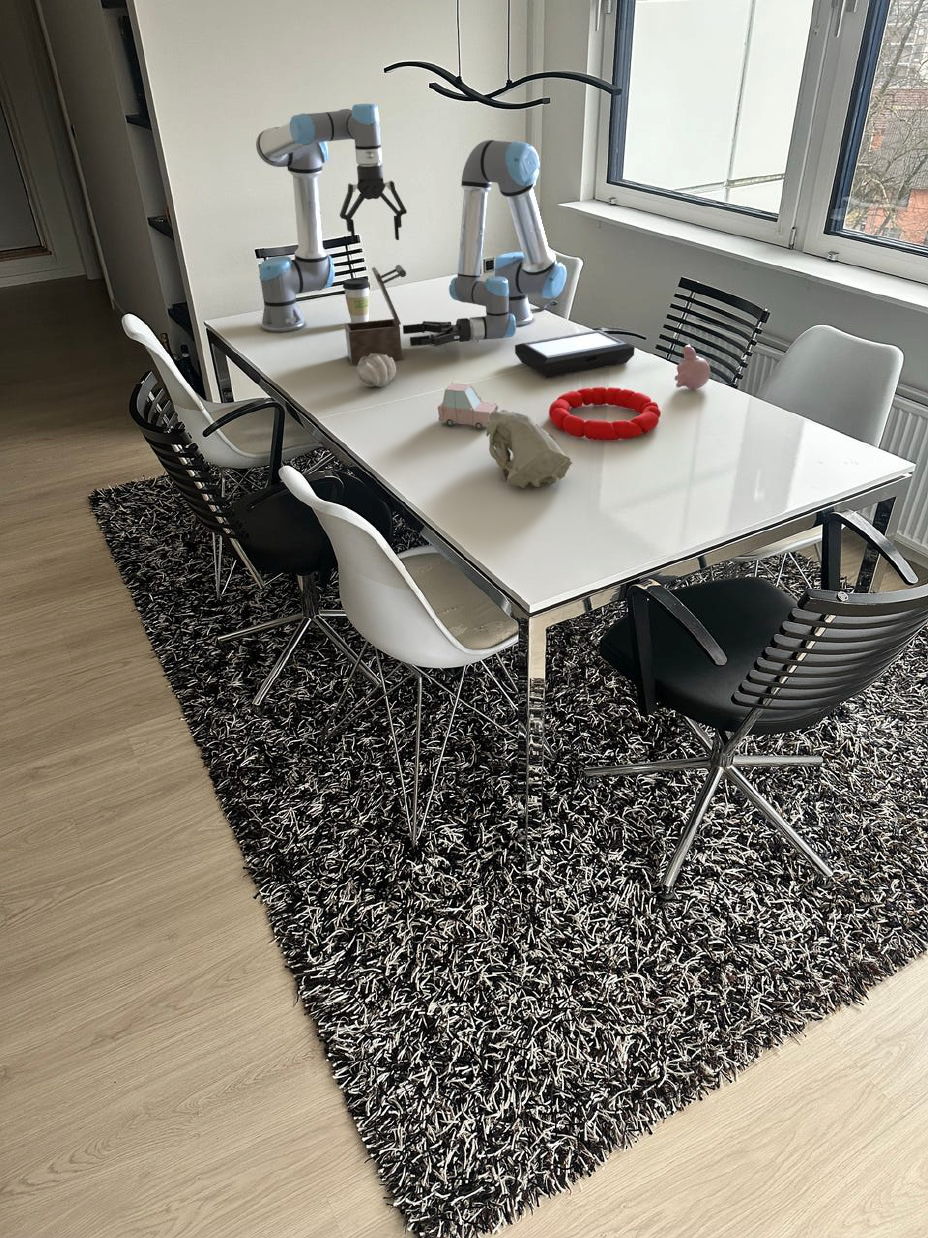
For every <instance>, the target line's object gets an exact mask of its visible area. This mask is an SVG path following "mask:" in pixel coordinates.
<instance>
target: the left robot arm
mask: <svg viewBox="0 0 928 1238" xmlns="http://www.w3.org/2000/svg"><path fill="white" fill-rule="evenodd" d="M346 140H354V149H355V160H356V161H355V162H356V164H357V166H356V172H357V184H355V183H347V192H346V194H345V198H344V201H343V204H342V206H341V210H340V213H339V217H340V219H342V220H345V223H346V230H347V232H348V233H350V237H351V243H352V244H354V245H355V244H356V236H355V235H356V233H355V223H354V219H352V218H353V217H354V215H355V214H356V212H357V210H358V209H359V207H360V206H361V204H362V203H363V202H364V200H365V199H366V200H369V201H370V200H378V199H380V198H381V199H382V200H383V201H384V203H385V204H386V205H387V206H388V207H389V208H390V210H391V211H393V213H394V214H395V215H393V224H394V225H393V226H394V239H395V240H396V241H400V231H399V230H400V228H402V225H403V224H402V216H403V215H406V214H407V211H408V210H407V209H406V207H405V205H404V203H403V200H401V197H400V196H399V194H398V192H397V190H396V186H395V182H394V181H393V180H389V181H384V172H383V170H384V169H383V165H382V164H381V163H382V162H383V158H382V144H381V143H382V142H381V128H380V115H379V108H378V106H377V104H375V103H355V104H353V105H352V107H351V109H350V108H343V109H339V110H335V111H324V112H314V113H299V114H294V115H292V116H291V117H290V121H289V122H287V123H286V124H283V125H281V126H274V127H269V128H267V129H264V130H263V131H261V132H260V133H259V134H258V136H257V138H256V143H255V148H256V152H257V155H258V156H259V157H260V159H261V160H262V161H263V162H264V163H266V164H267V165H269V166H272V167H277V168H286V167H287V171H288V172H289V174H290V175H291V176H292V185H293V196H294V197H293V198H294V209H295V221H296V222H295V224H296V235H297V246H298V247H297V248H296V250H294V259H292V258H291V257H290V256H288V255H280V256H273V257H270V258H266V259H265V260H263V261H262V262H261V263H260V265H259V266H258V270H259V271H258V272H259V281H260V287H261V292H262V299H263V313H262V319H261V326H262V330H264V331H265V332H271V333H286V332H293V331H296V330H297V331H298V330H300V329H302V328H304V326H305V319H304V317H303V314H302V312H301V310H300V307H299V306H298V305H299V304H298V303H297V295H300V294H305V293H306V294H307V293H312V292H320V291H322V290H326V289H329V288H331V286H332V285H333V283H334V280H335V274H336V273H335V265H334V260H333V258H332V256H331V255H329V254H328V251H327V250H326V249H325V248H324V245H323V232H322V229H323V228H322V214H321V199H320V184H319V176H320V174H321V173H322V172H323V164H325V163H326V162H327V161H328V158H329V148H328V144H327V142H336V141H346ZM386 188H387V189H388V190H389V191H390V192H391V195H392V196H393V198H394V200H395V202H396V204H397V206H398V207H399V209H400V210H399V209H398V208H397V207H396V206H395V205H394V203H392V201H391V200H390V199H389V198H388V197H387V196H386V194H385V193H384V190H385V189H386ZM356 190H358V192H359V195H358V196H357V198H356V200H355V201H354V203H353V204H352V206H351V208H350V209H349V207H350V204H351V202H352V201H351V200H352V198H353V193H355V192H356ZM348 209H349V210H348Z"/></svg>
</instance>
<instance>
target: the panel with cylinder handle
mask: <svg viewBox="0 0 928 1238" xmlns="http://www.w3.org/2000/svg"><path fill="white" fill-rule="evenodd" d="M371 270H372V272H373V275H374V277H375V279H376V281H377V284H378V286H379V288H380V291H381V293H382V296H383V298H384V300H385V302H386V304H387V307H388V309H389V311H390V314H391V317H392V319H394V320H395V321H396V323H397V324H398V325H399V326H400V325H402V323H401V320H400V318H399V316H398V314H397V310H396V308H395V306H394V304H393V302H392V300H391V297H390V294H389V293H388V290H387V288H386V286H385V284H387V283H389V282H391V281H393V280H395V279H397V278H399V277H401V278H405V277H406V276H407V271H406V270H405V269H404V267H403V266H402V265H401V264H397V265H395V268H394V269H392V270H390V271H388V272H386V273H383V274H382V275H381V274H380V272H379V271H378V269H377V268H376V267H375V266H373V267H372V268H371ZM394 273H396V274H395V275H393V276H390V275H392V274H394ZM388 276H390V277H388ZM386 277H388V278H386ZM384 278H386V279H384ZM383 279H384V280H383Z"/></svg>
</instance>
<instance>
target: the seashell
mask: <svg viewBox="0 0 928 1238" xmlns="http://www.w3.org/2000/svg"><path fill="white" fill-rule="evenodd" d="M396 367H397V365H396V363H395V361H394V360H393V358H392V357H390V358H389V357H388V356H387V355H386V354H385V355H383V354H376V353H375V354H372V353H371V354H370V355H369V356H363V357H361V359H360V361H359V363H358V365H357V368H356V373H357V376H358V379H359V381H360V382H361V383H362V384H363V385H365V386H367V387H370V388H372V387H375V386H376V387H381V388H382V387H385V386H388V384H389V383H391V381H392V380H393V378H394V377H395V375H396V372H397V368H396Z"/></svg>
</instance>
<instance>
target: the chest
mask: <svg viewBox="0 0 928 1238" xmlns="http://www.w3.org/2000/svg"><path fill="white" fill-rule="evenodd" d="M344 331H345V338H346V349H347V357H348V359H349V361H350V364H351V365H352V366H358V363H359V361H360V359H361V357H363V356H369V355H370V354H371V353H372V354H375V353H376V354H383V355H385V354H386V355H387V356H388V357H389V358H390V357H392V358H393V360H394V362H395V361H402V360H403V353H402V352H403V351H402V338H401V337H402V336H401V326H400V325H398V324H397V323H396V321H395V320H394V318H389V319H388V318H387V319H378V320H368V321H367V322H357V323H351V322H347V323H344Z"/></svg>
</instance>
